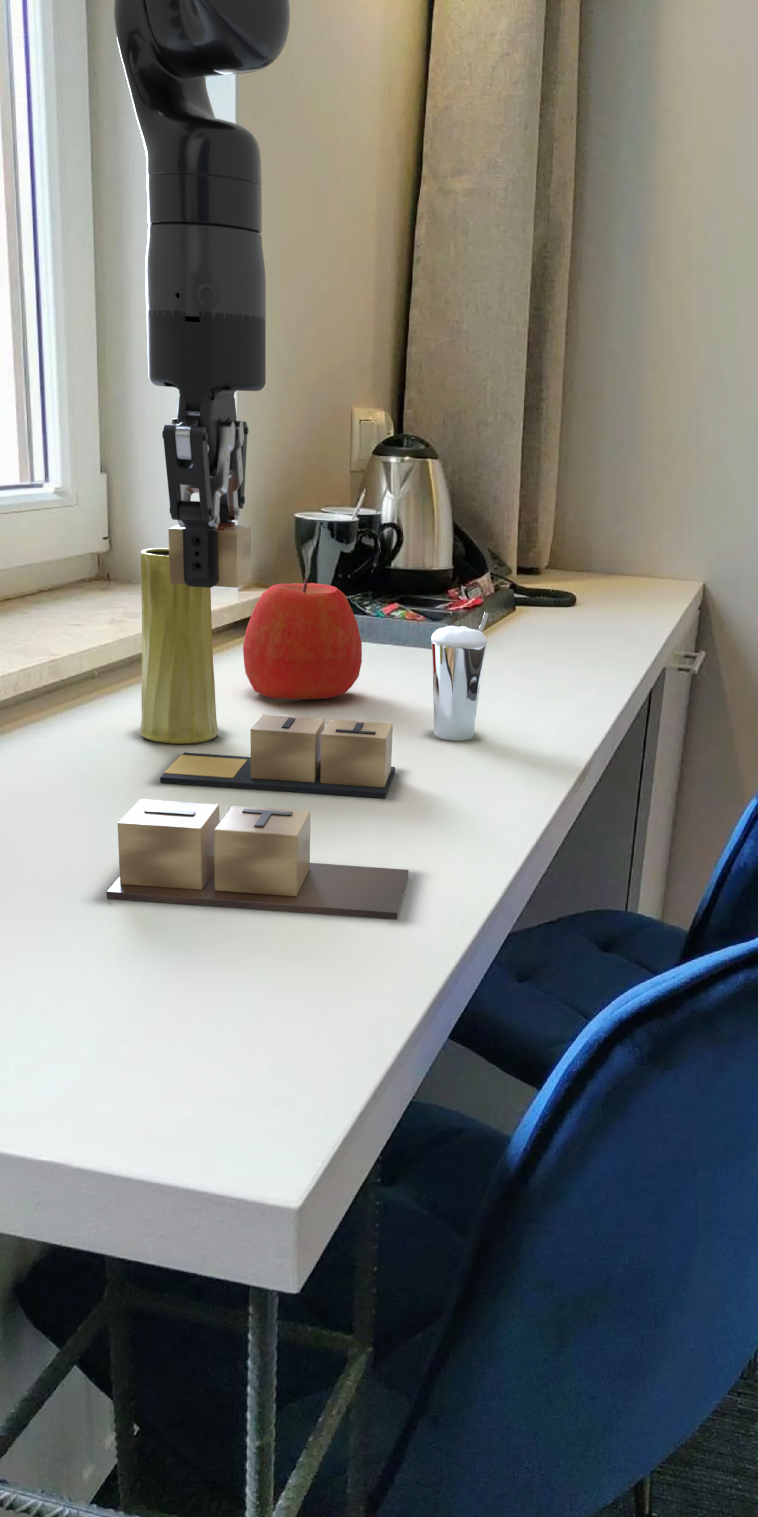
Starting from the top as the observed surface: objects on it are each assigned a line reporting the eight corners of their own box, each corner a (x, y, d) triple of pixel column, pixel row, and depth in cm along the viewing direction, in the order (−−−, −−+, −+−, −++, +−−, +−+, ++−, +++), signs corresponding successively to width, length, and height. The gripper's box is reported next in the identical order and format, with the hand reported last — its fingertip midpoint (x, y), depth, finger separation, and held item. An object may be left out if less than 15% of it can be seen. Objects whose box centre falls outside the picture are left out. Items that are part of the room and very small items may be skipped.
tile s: (169, 583, 89) (168, 526, 88) (186, 574, 94) (185, 520, 92) (237, 588, 89) (236, 531, 88) (251, 578, 93) (251, 524, 92)
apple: (301, 715, 115) (302, 590, 111) (216, 693, 121) (215, 574, 117) (384, 698, 123) (388, 581, 119) (300, 678, 129) (302, 566, 125)
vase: (141, 725, 109) (135, 546, 104) (217, 726, 110) (215, 548, 105) (138, 744, 103) (132, 555, 98) (219, 745, 104) (217, 558, 99)
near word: (106, 898, 73) (103, 827, 71) (141, 856, 79) (139, 790, 78) (397, 919, 72) (400, 848, 71) (408, 875, 79) (411, 809, 77)
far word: (159, 782, 94) (158, 725, 92) (184, 757, 100) (183, 703, 99) (385, 798, 93) (387, 741, 92) (395, 772, 100) (397, 718, 98)
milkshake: (498, 737, 112) (507, 617, 108) (453, 745, 108) (460, 622, 105) (460, 725, 115) (467, 608, 111) (415, 734, 111) (420, 613, 107)
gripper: (177, 312, 92) (182, 565, 98) (115, 299, 79) (126, 592, 85) (284, 318, 92) (283, 571, 98) (240, 306, 78) (242, 600, 85)
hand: (210, 579), depth 91 cm, fingers closed on tile s, 4 cm apart
